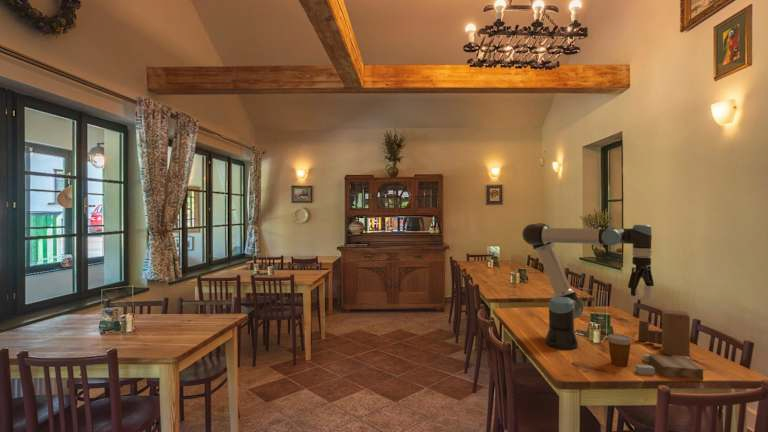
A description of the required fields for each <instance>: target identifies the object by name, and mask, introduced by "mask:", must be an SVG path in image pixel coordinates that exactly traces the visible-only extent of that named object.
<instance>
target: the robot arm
mask: <svg viewBox="0 0 768 432" xmlns="http://www.w3.org/2000/svg"><path fill="white" fill-rule="evenodd" d="M652 235H653V234H652V226H651V225H648V224H634V225H633V226H632V228H622V227H621V228H620V227H607V228H579V227H577V228H573V227H568V228H567V227H561V228H560V227H550V226H549V225H548V224H546V223H543V222H542V223H541V222H540V223H539V222H538V223H530V224H527V225H526V226H525V227H524V228H523V230H522V238H523V240H524V242H525V243H527V244H528V245H531V246H532V249H533V250H534V251H535V252H537V253H538V256H539V258H540V260H541V263H542V265H543V268H544V270H545V273H546V276H547V278H548V280H549V283H550V285H551V288H552V290H553V292H554V294H553V297H552V298H551V299H550V300H549V301H548V324H549V325H548V331H547V333H546V336H545V344H546V345H547V347H551V348H554V349H560V350H574V349H578V348H579V341H578V338H577V336H576V333H575V319H577V318H579V317H580V316H581V315H582V314H583V312H584V308H585V307H584V302H583V300H582V299H581V298H580V297H578V294H577V293H576V291H575V290H573V289H572V288H571V286H570V283H569V281H568V279H567V276H566V274H565V271H564V269H563V267H562V265H561V264H562V263H561V262H560V260H559V257H558V254H557V252H556V249H555V248H554V246H555V244H556V243H559V244H562V243H563V244H581V245H582V244H584V245H585V244H589V245H608V246H616V245H619V244H629V245H630V244H631V245H632V259H631V260H632V265H634V266H635V267H633V266H632V267H631V272H630V276H629V281H628V286H627V288H629V289H630V303H635V304H638V295H639V293H638V290H639V289H638V286H639V283H640V281H641V279H642V280H643V282H644V284H645V285H644V286H643V287H644V288H643V290H644V291H643V299H645V300H650V301H651V300H652V287H654V279H653V275H652V269H651V268H652V267H651V265H652V257H651V256H652V252H653V251H652V241H653V240H652V238H653V237H652Z"/></svg>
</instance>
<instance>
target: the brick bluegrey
mask: <svg viewBox="0 0 768 432" xmlns="http://www.w3.org/2000/svg"><path fill="white" fill-rule="evenodd" d="M655 370H656V369H655V368H654V367H653V366H652V365H650V364H648V365H646V364H635V372H636V373H637V374H638V375H650V376H655V375H656V371H655Z"/></svg>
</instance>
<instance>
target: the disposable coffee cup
mask: <svg viewBox="0 0 768 432" xmlns="http://www.w3.org/2000/svg"><path fill="white" fill-rule="evenodd" d="M606 339H607V342H608V347H609V348H608V349H609V355H610V362H611V365H615V366H618V367H627V366H628V365H629V358H630V353H631V344H632V342H633V341H632V339H631V337H630V336H628V335H624V334H620V333H619V334H618V333H610V334H608V335H607V337H606Z"/></svg>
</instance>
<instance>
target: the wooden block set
mask: <svg viewBox="0 0 768 432" xmlns="http://www.w3.org/2000/svg"><path fill="white" fill-rule="evenodd" d="M649 327H650V322H649V321H648V320H643V319H639V321H638V333H637V335H638V337H637V340H638V341H640V342H641V341H642V342H648V343H650V344H657V345H662V330H653V329H649Z"/></svg>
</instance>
